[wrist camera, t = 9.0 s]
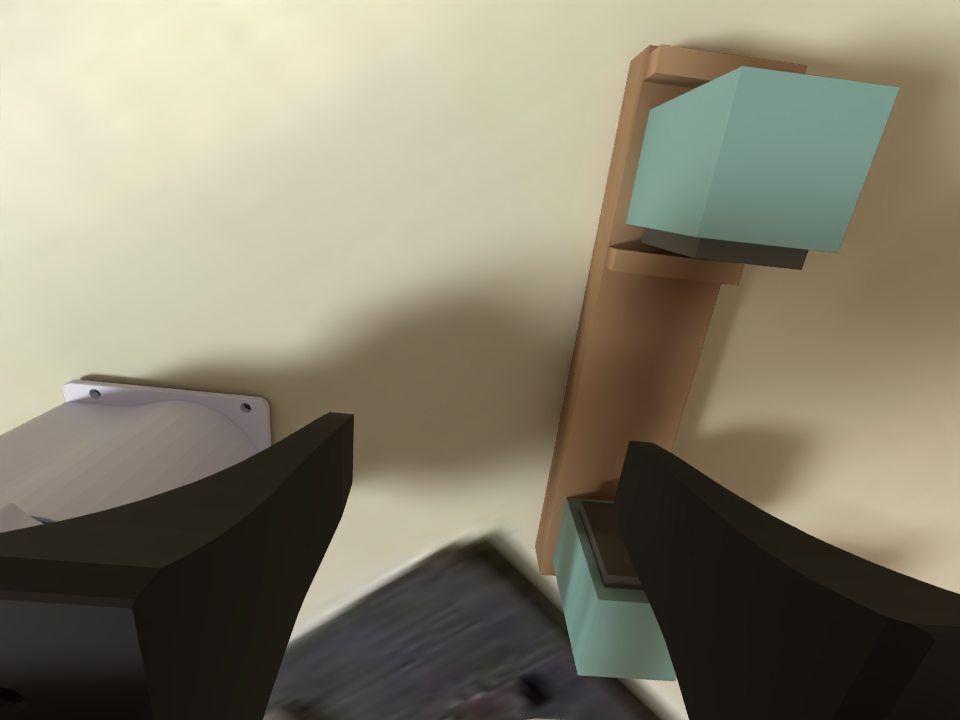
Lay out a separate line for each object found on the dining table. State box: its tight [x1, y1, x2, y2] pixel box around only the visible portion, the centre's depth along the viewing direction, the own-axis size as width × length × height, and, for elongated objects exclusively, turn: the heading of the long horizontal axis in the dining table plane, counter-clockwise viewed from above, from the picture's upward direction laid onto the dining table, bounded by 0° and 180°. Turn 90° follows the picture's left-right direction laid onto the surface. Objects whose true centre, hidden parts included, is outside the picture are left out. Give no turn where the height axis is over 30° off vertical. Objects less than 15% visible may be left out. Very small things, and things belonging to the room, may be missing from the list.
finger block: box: [626, 66, 900, 270], centre depth 15 cm, size 4×5×6 cm
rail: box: [535, 45, 807, 681], centre depth 18 cm, size 5×24×8 cm, turn 173°
